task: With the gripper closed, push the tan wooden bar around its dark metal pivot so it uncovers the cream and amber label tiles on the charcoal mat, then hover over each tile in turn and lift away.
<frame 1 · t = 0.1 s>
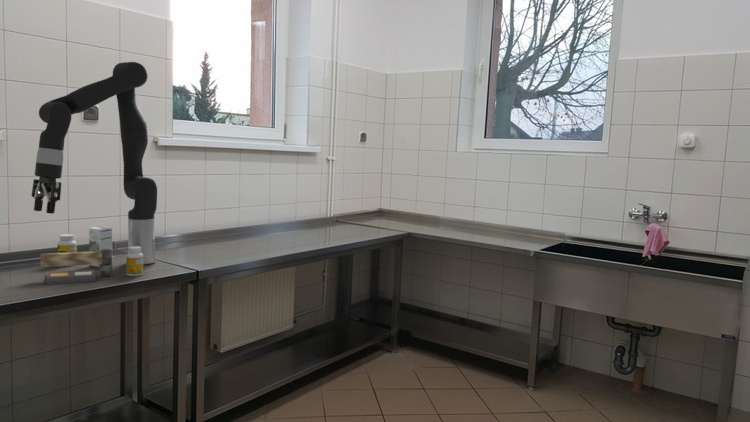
hand: (43, 212, 178), 22 cm above the counter, tool pointing down, fingers open, 8 cm apart
syrup box: (101, 266, 202), on the counter
pivot post: (106, 275, 188), on the counter
tan wooden bar: (77, 258, 183), point 7 cm above the counter, hinge at 0.0°
supplement bottle: (134, 275, 191), on the counter
label mat: (71, 277, 183), on the counter
pill bottle: (67, 264, 202), on the counter
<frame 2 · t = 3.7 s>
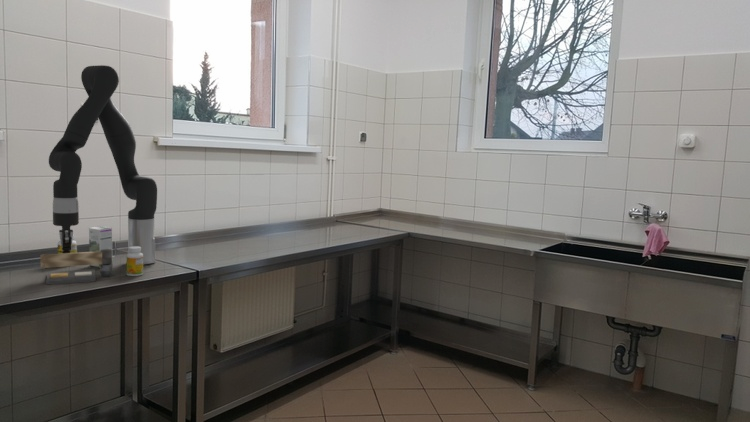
hand: (66, 261, 184), 5 cm above the counter, tool pointing down, fingers closed
tan wooden bar: (77, 258, 182), point 7 cm above the counter, hinge at 4.2°, touching gripper
everything else where it was.
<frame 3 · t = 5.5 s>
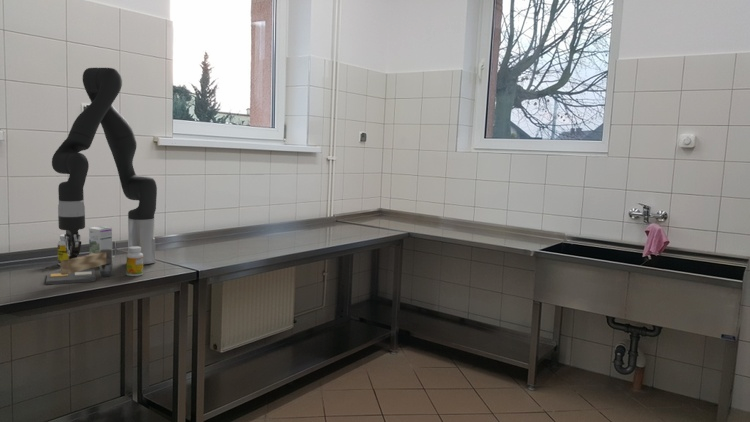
hand: (73, 266, 177), 5 cm above the counter, tool pointing down, fingers closed
tan wooden bar: (87, 261, 178), point 7 cm above the counter, hinge at 48.2°, touching gripper
everything else where it was.
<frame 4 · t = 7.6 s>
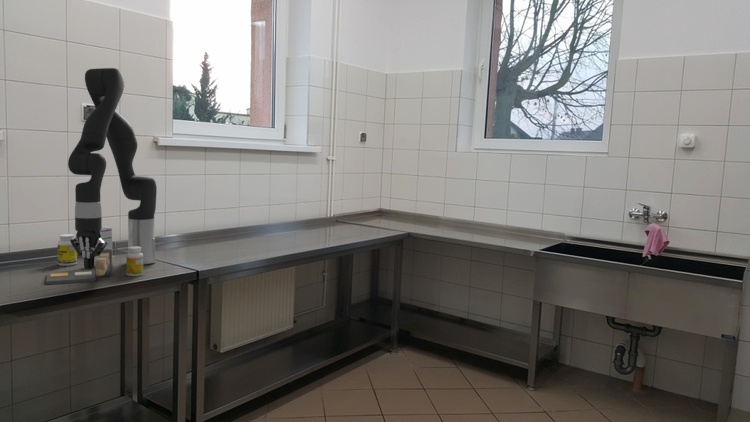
hand: (89, 268, 175), 5 cm above the counter, tool pointing down, fingers closed
tan wooden bar: (103, 262, 179), point 7 cm above the counter, hinge at 82.1°
everything else where it was.
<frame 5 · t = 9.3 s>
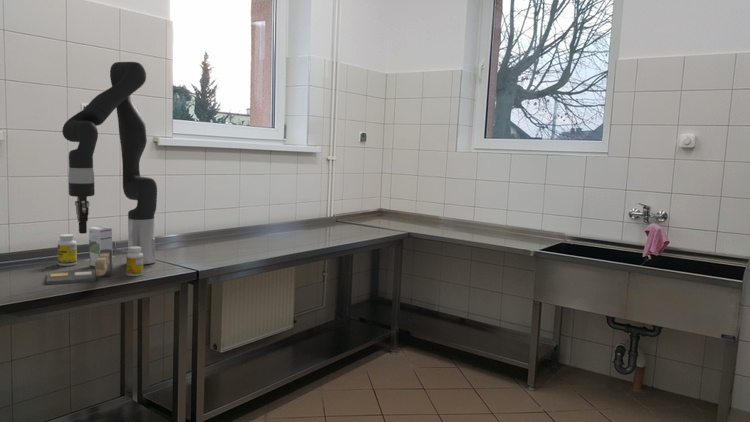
hand: (82, 233, 182), 15 cm above the counter, tool pointing down, fingers closed
nothing on the counter moved.
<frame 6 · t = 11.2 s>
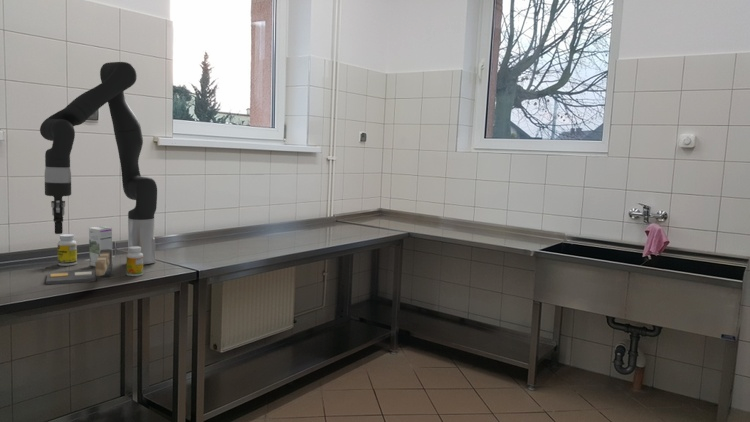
hand: (58, 233, 179), 15 cm above the counter, tool pointing down, fingers closed
nothing on the counter moved.
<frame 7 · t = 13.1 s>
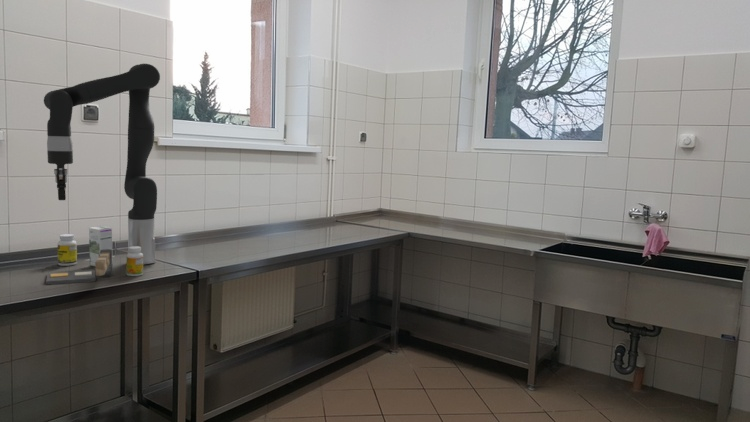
hand: (62, 199, 188), 25 cm above the counter, tool pointing down, fingers closed
nothing on the counter moved.
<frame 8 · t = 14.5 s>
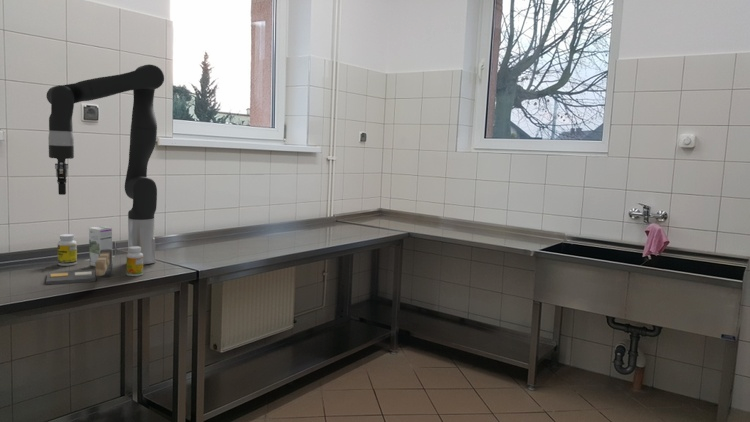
hand: (62, 194, 190), 27 cm above the counter, tool pointing down, fingers closed
nothing on the counter moved.
at the end: tan wooden bar at +82° (first picture: +0°); syrup box moved 0.2 cm from its start; supplement bottle moved 0.2 cm from its start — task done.
